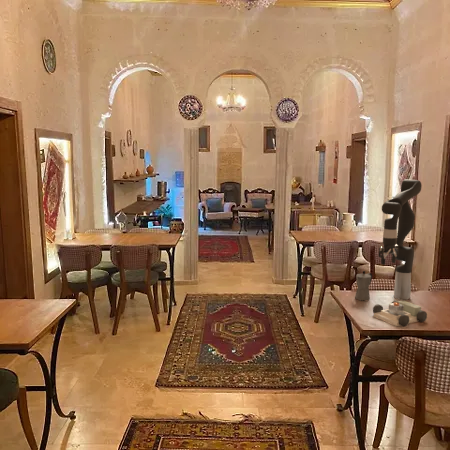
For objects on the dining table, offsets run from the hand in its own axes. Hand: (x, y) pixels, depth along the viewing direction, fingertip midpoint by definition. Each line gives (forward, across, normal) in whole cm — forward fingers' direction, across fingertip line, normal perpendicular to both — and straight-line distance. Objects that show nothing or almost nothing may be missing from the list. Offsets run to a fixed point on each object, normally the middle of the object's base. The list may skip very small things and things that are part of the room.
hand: (388, 263), depth 260 cm
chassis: (+27, +8, +16) cm, 32 cm away
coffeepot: (+27, -1, -19) cm, 33 cm away
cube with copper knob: (+24, +10, +16) cm, 31 cm away
